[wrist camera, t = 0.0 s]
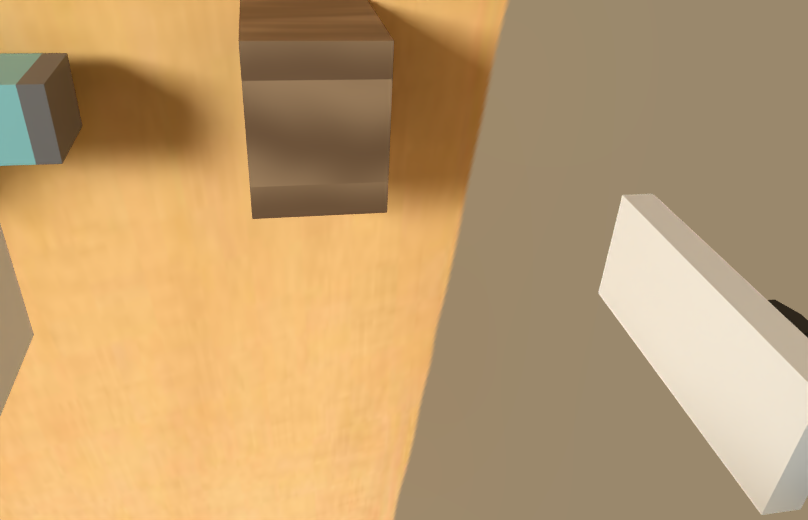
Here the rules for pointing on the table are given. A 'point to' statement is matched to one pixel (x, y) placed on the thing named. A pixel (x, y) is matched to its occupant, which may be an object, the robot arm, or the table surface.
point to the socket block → (316, 106)
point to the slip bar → (37, 109)
